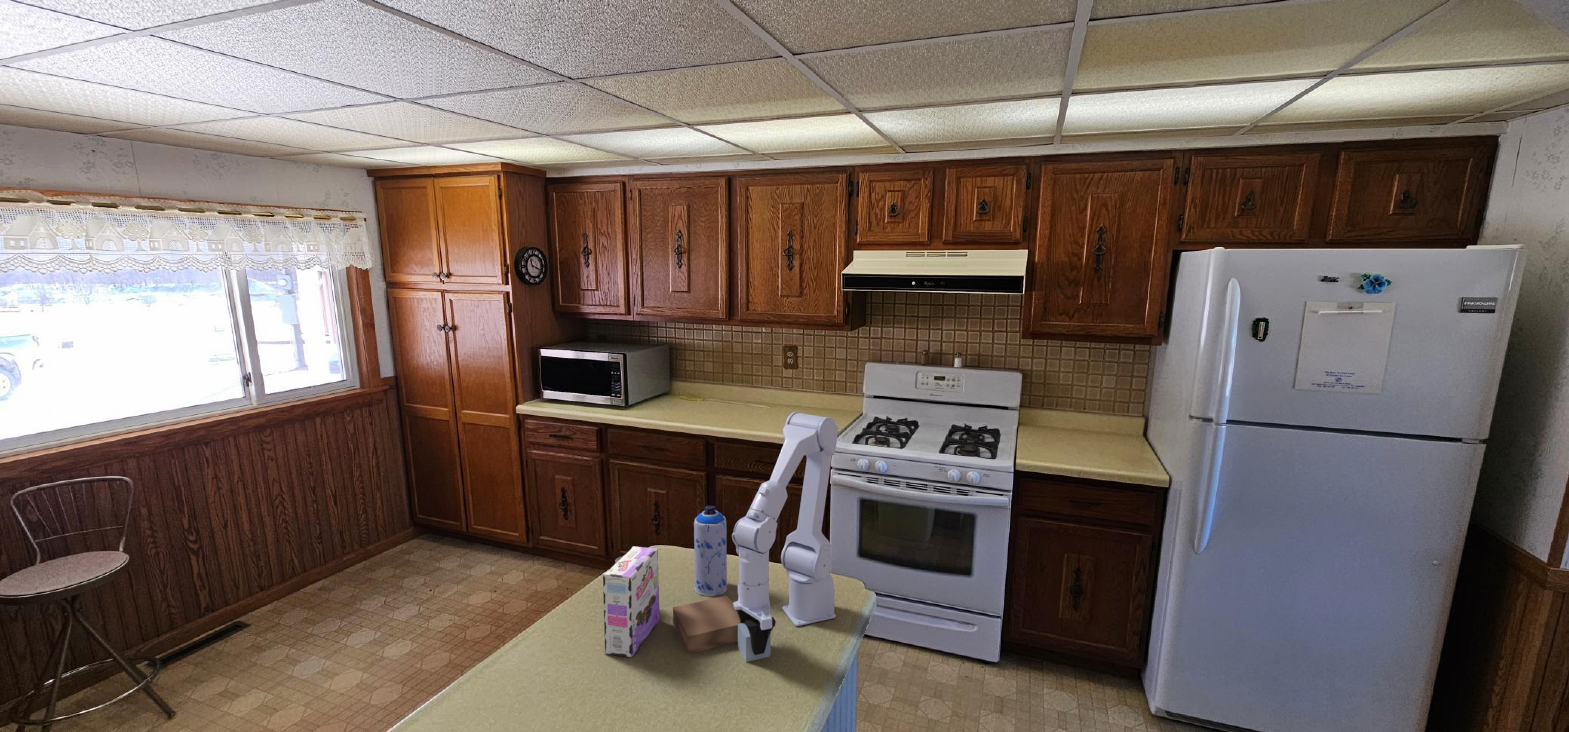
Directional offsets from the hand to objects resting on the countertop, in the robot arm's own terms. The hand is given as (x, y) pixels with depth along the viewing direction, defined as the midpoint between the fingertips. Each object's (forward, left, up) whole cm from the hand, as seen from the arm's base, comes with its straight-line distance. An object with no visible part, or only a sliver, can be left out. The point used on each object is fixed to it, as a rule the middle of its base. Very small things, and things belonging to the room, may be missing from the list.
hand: (754, 645), depth 120 cm
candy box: (+21, -14, -2) cm, 25 cm away
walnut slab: (+6, -10, -2) cm, 12 cm away
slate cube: (0, 0, -1) cm, 1 cm away
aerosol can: (+1, -28, -2) cm, 28 cm away
